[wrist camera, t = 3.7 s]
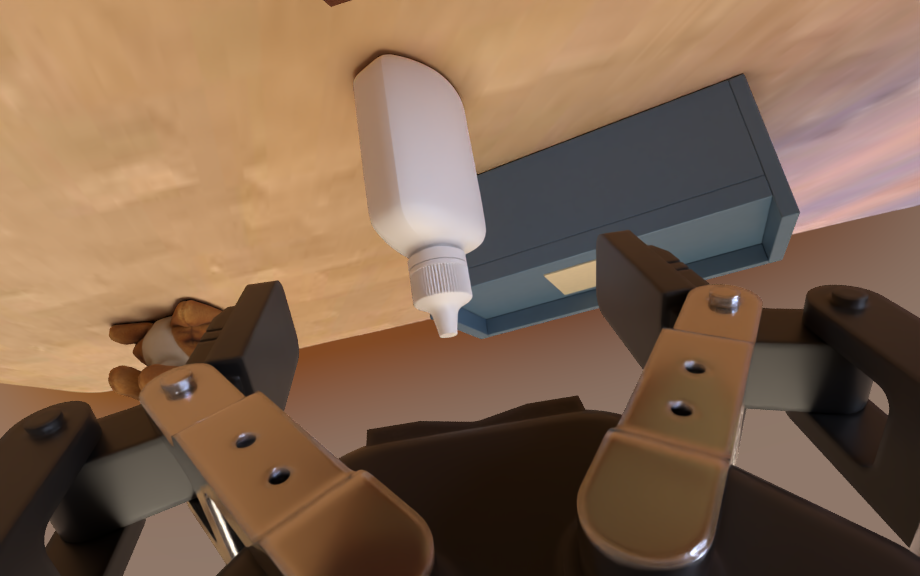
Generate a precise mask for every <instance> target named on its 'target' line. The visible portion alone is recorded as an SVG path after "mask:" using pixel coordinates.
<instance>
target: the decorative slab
mask: <svg viewBox="0 0 920 576" xmlns="http://www.w3.org/2000/svg"><path fill="white" fill-rule="evenodd" d="M324 1H325V2H326V3H327V4H328V5H329V6H331V7H332V6H335V5H338V4H341V3H344V2H347V1H350V0H324Z"/></svg>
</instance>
